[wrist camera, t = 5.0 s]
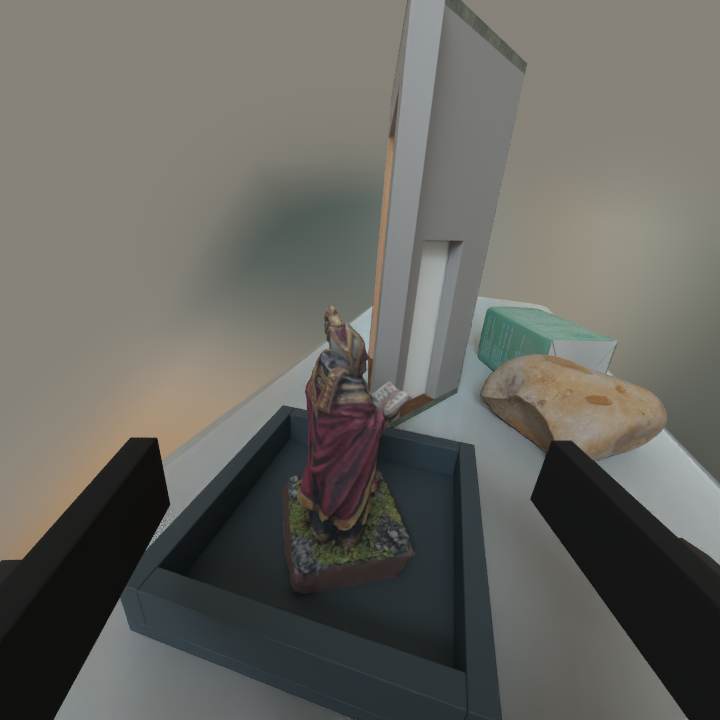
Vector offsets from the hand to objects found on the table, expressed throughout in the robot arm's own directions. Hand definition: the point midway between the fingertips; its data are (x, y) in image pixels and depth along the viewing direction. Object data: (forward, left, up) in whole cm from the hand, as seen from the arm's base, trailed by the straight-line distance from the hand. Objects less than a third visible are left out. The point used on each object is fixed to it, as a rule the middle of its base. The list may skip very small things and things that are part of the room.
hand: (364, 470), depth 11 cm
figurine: (-2, +4, -8) cm, 9 cm away
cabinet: (0, +23, -9) cm, 25 cm away
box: (+13, +32, -9) cm, 36 cm away
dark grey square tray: (-2, +4, -9) cm, 10 cm away
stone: (+13, +19, -9) cm, 25 cm away
